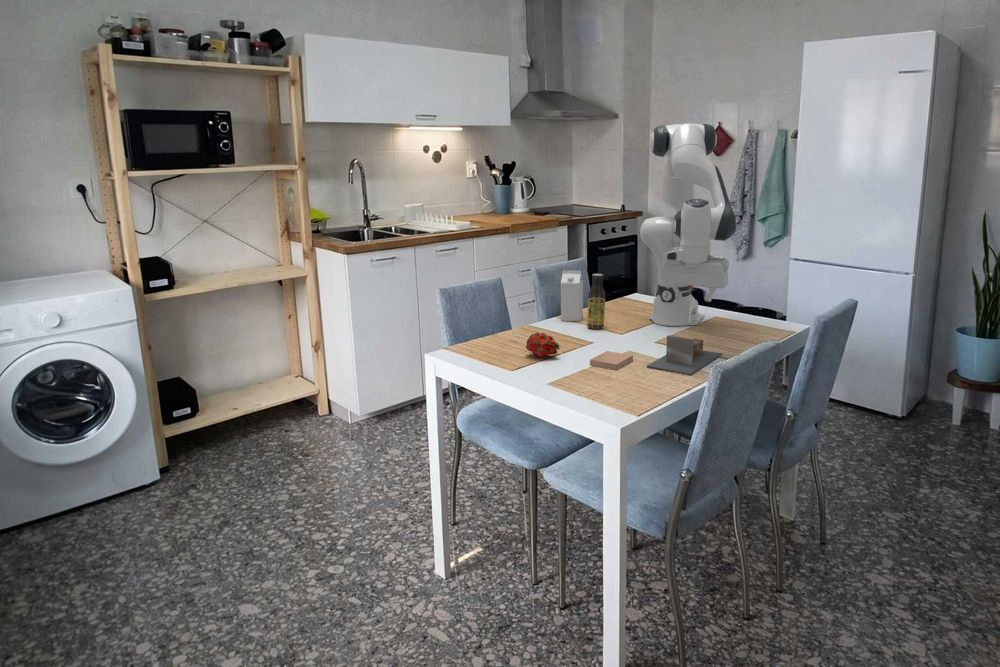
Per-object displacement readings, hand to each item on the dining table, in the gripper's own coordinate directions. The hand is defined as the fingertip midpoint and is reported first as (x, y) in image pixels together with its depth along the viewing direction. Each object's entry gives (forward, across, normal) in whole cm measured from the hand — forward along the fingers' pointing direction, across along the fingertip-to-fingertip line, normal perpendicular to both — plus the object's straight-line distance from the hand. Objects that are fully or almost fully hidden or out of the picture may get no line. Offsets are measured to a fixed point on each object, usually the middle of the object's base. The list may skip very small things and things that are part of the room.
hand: (693, 299), depth 215 cm
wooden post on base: (+18, 0, +2) cm, 18 cm away
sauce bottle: (+19, +44, -17) cm, 51 cm away
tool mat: (+19, 0, +4) cm, 19 cm away
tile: (+18, +18, +12) cm, 28 cm away
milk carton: (+19, +58, -23) cm, 66 cm away
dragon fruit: (+19, +40, +23) cm, 50 cm away
